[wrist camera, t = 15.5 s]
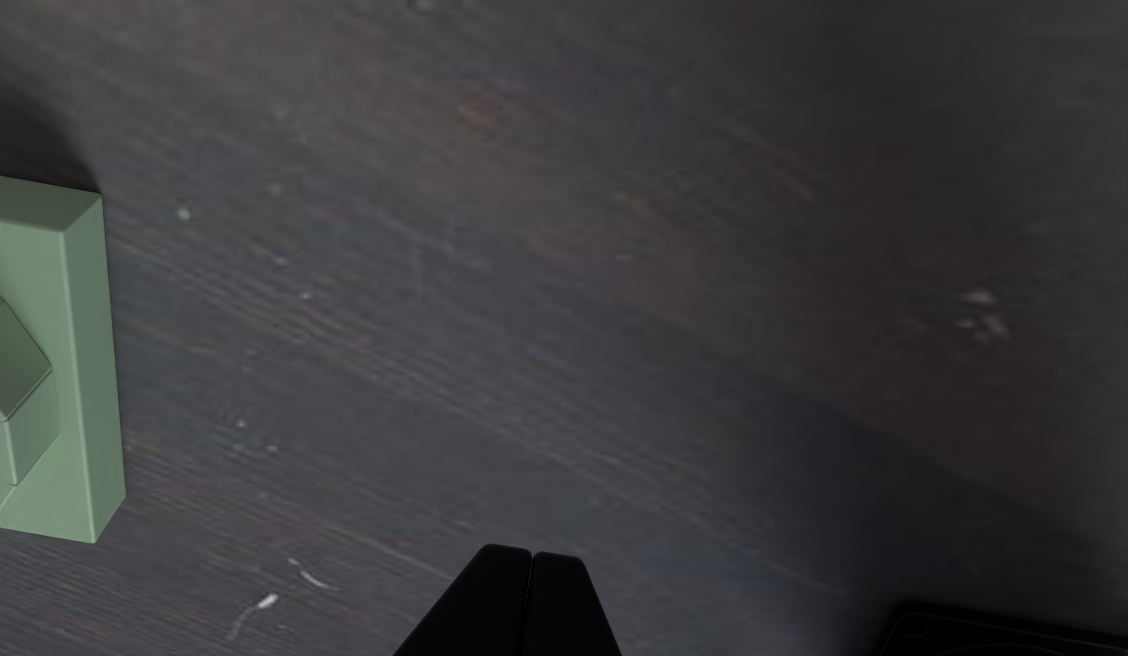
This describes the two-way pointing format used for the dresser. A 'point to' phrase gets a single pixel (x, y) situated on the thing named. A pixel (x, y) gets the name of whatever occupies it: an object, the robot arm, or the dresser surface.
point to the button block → (56, 365)
